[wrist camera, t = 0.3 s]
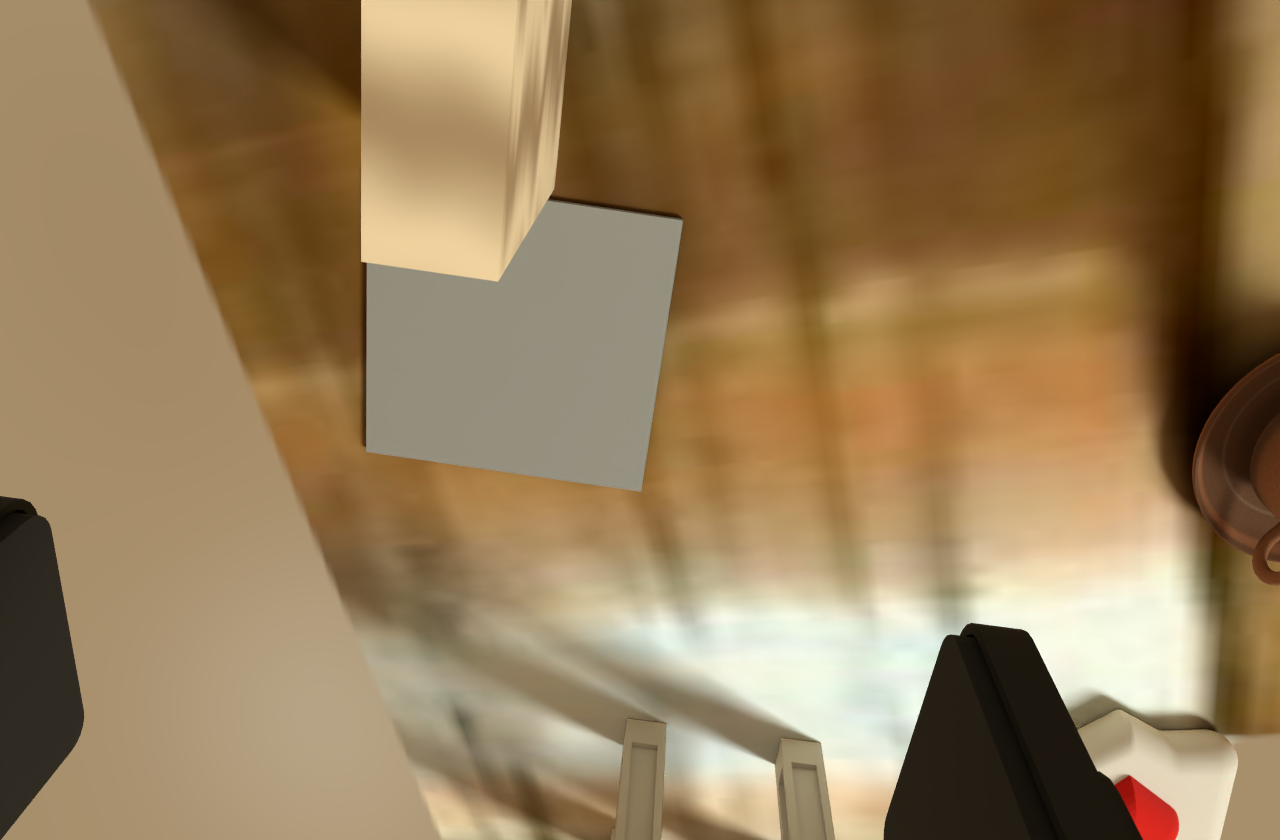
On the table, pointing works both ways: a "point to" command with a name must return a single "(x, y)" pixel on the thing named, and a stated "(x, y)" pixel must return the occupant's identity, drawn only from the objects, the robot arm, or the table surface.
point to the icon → (1165, 775)
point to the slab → (458, 129)
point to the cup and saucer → (1244, 468)
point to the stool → (643, 782)
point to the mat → (528, 351)
